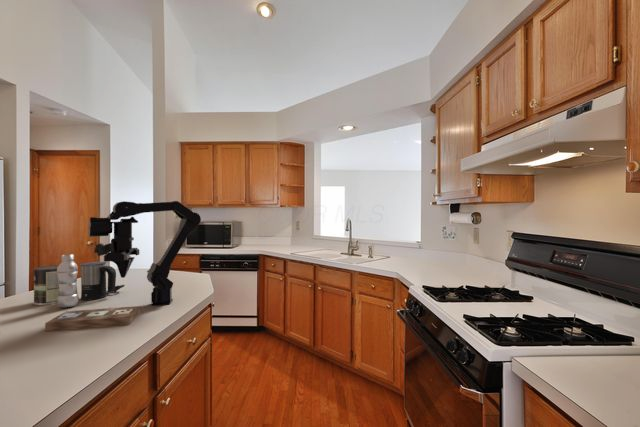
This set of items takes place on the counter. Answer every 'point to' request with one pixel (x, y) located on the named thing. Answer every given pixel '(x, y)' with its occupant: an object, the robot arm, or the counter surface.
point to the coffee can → (46, 285)
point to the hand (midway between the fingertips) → (123, 277)
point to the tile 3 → (122, 311)
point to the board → (93, 319)
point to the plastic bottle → (67, 282)
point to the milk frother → (97, 280)
